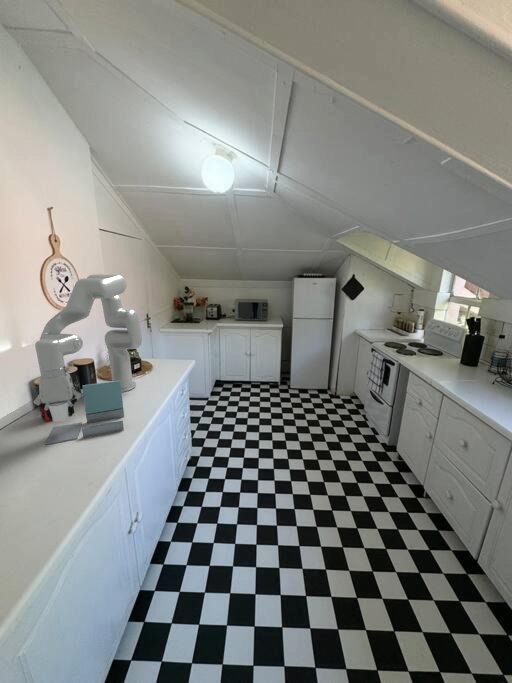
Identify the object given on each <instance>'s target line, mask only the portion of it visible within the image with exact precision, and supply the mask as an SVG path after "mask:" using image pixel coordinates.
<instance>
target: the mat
mask: <svg viewBox="0 0 512 683" xmlns="http://www.w3.org/2000/svg"><path fill="white" fill-rule="evenodd" d="M82 424H83V422H82V421H81V422H80V421H79V422H75V423H74V422H73V423H70V424H69V423H68V424H64V425H63V424H62V425H58V426H53V427H52V429H51V431H50V434H49V435H48V438H47V440H46V441H45V446H48V445H49V446H50V445H54V444H60V443H65V442H69V441H74V440H75V441H76V440H78V438H79V436H80V431H81V430H82Z"/></svg>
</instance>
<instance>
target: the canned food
mask: <svg viewBox="0 0 512 683" xmlns="http://www.w3.org/2000/svg"><path fill="white" fill-rule="evenodd" d="M39 395H40V393H39V394H37V397H38V396H39ZM40 401H41V399H40ZM38 407H39V410H40V415H41V420H42V421H44V422H54V421H53V419H51V420H49V417H47V413H46V410H44V409H43V408H41V407H40V406H39V405H38Z"/></svg>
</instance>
